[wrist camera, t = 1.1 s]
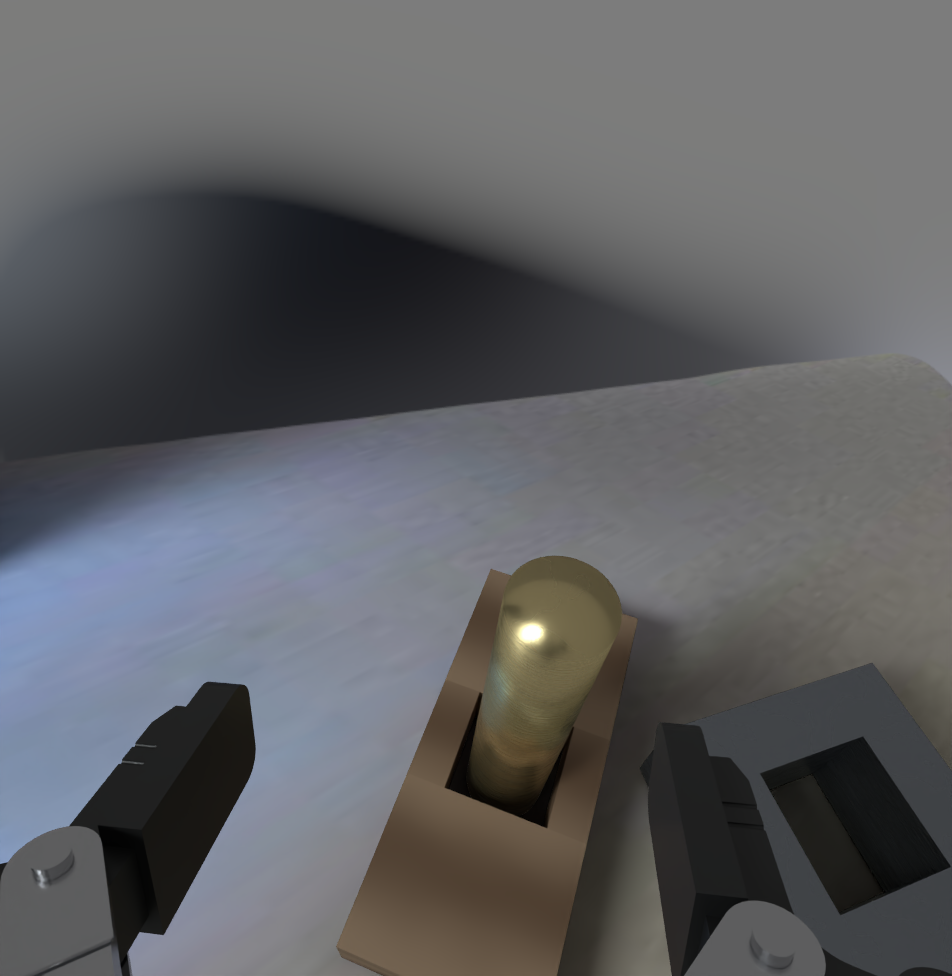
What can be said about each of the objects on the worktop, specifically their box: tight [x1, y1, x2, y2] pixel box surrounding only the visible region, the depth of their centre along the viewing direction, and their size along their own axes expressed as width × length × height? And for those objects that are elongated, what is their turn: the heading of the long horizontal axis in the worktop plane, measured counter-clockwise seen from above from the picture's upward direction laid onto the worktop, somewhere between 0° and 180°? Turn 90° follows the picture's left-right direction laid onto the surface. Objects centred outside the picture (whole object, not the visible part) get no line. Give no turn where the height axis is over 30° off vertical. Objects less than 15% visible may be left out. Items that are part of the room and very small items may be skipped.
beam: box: [336, 569, 638, 976], centre depth 32 cm, size 18×8×3 cm, turn 161°
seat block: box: [640, 663, 952, 976], centre depth 30 cm, size 11×11×5 cm
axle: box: [466, 556, 622, 817], centre depth 27 cm, size 4×4×16 cm
